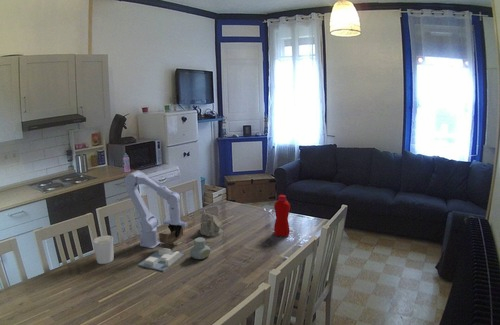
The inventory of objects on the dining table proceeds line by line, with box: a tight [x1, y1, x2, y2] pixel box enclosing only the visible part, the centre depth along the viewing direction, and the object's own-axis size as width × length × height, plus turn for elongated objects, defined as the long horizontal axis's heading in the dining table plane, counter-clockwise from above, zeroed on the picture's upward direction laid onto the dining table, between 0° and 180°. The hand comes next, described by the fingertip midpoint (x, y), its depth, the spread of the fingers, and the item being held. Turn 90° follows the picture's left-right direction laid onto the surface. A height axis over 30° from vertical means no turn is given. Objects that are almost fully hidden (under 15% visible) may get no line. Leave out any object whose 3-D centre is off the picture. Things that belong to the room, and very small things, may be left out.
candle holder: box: [92, 234, 115, 265], centre depth 178 cm, size 10×10×12 cm
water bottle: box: [273, 194, 293, 237], centre depth 207 cm, size 9×11×25 cm
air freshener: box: [189, 236, 211, 260], centre depth 181 cm, size 11×8×10 cm
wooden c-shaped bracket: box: [158, 227, 184, 245], centre depth 194 cm, size 8×12×5 cm, turn 157°
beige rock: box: [199, 210, 224, 238], centre depth 214 cm, size 16×16×15 cm
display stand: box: [137, 247, 185, 273], centre depth 178 cm, size 16×18×4 cm
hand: (175, 236), depth 193 cm, fingers closed on wooden c-shaped bracket
